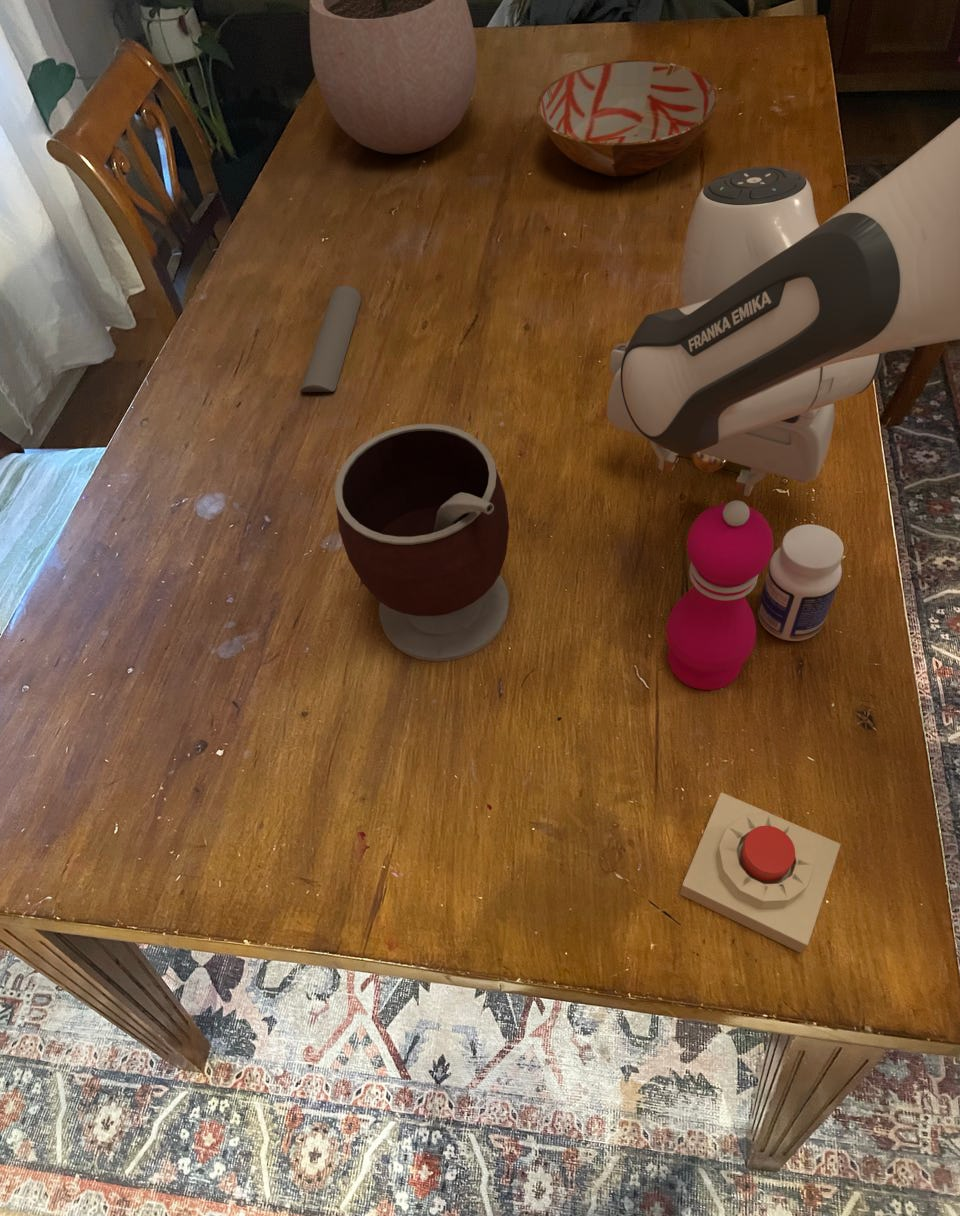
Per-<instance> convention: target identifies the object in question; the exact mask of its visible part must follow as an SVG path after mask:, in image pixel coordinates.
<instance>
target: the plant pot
mask: <svg viewBox="0 0 960 1216" xmlns="http://www.w3.org/2000/svg"><path fill="white" fill-rule="evenodd" d="M475 35H476V34H475V29H474V25H473V21H472V16H471V13H470V8H469V5H468V1H467V0H309V42H310V53H311V60H312V66H313V71H314V75H315V78H316V82H317V85H318V87H319V90H320V92H321V94H322V97H323V99H324V102H325V104H326V106H327V108H328V110H329V111H330V113H331V116H332V118H334V120H335V121H336V123H337V124H338V126H339V127H340V128H341V129H342V130H343V131H344V132H345V133H346V134H347V135H348V136H350V137H351V139H353V140H355V142H357V143H359V144H360V145H361V146H363V147H366V148H368V149H371V150H373V151H376V152H379V153H383V154H388V155H389V154H390V155H407V154H414V153H419V152H422V151H425V150H427V149H429V148H432V147H434V146H435V145H437V144H439V143H440V142H442V141H443V140H445V139H446V138H447V137H448V136H449V135H450V134H451V133H452V132H453V131H454V130H455V129H456V128H457V127H458V125H460V123H461V121H462V120H463V118H464V116H465V114H466V112H467V110H468V108H469V105H470V103H471V100H472V97H473V94H474V90H475V83H476V77H477V45H476V36H475Z"/></svg>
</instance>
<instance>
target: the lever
mask: <svg viewBox="0 0 960 1216" xmlns="http://www.w3.org/2000/svg"><path fill="white" fill-rule="evenodd" d="M691 460H692V462H693V465H694V466H695V467H696V468H697V469H698V470H700V471H702V472H705V473H714V472H717V471H719V470H721V469H723V468H722V467H723V466H724V465H725V463H726V462H727V460H724V459H720V458H717V457H713V456H710V455H706V454H703V453H699V452H696V453H694V454H692V459H691Z"/></svg>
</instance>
